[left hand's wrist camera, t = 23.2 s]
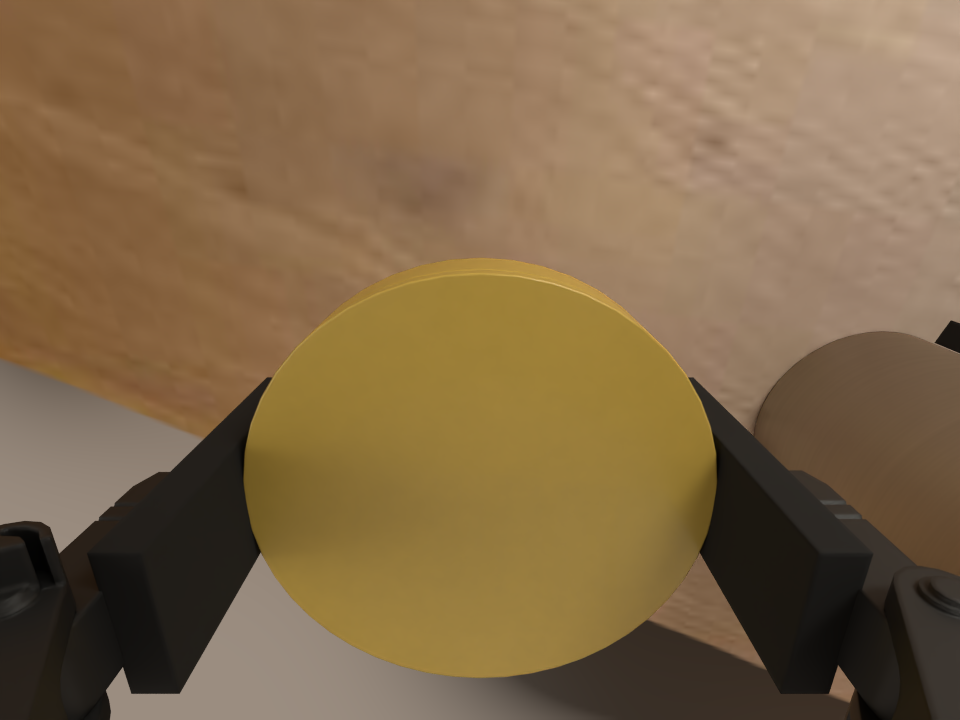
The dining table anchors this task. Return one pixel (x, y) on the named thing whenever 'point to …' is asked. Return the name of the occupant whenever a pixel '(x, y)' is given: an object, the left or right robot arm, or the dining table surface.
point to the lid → (480, 470)
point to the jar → (878, 436)
